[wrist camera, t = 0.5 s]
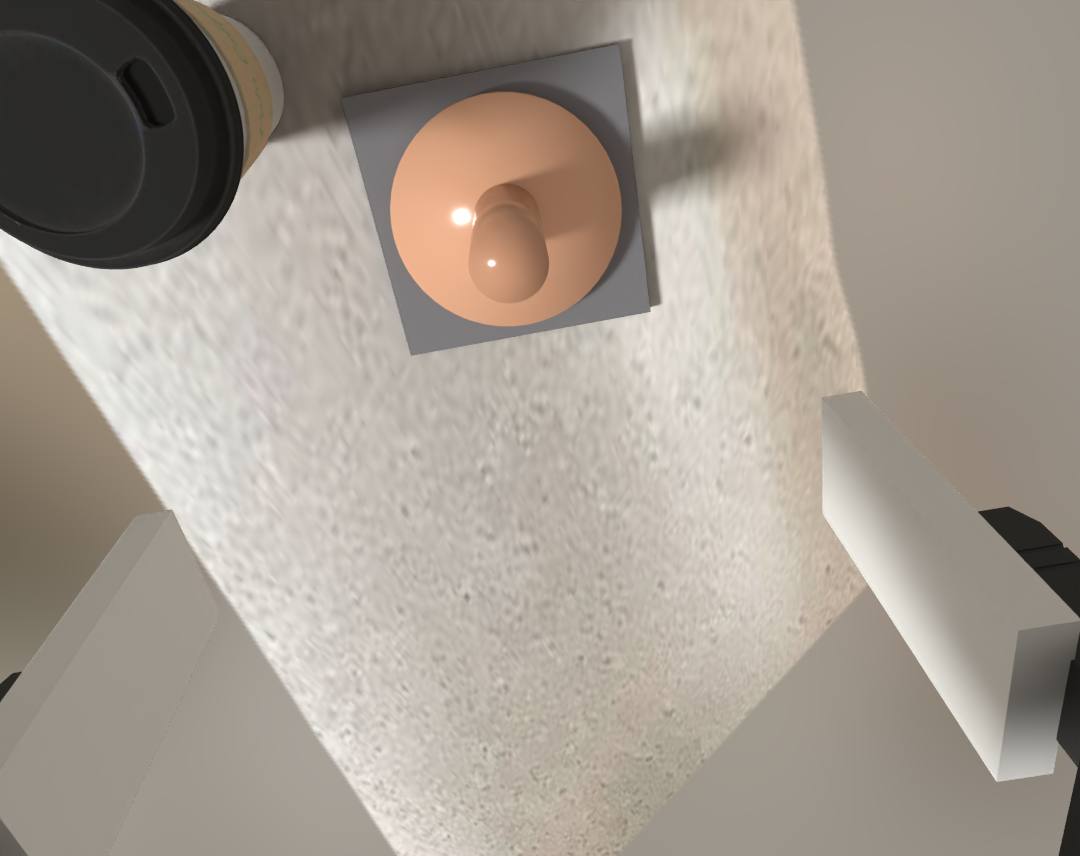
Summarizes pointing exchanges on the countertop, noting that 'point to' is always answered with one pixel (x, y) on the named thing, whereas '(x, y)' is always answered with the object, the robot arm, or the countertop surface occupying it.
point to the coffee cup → (127, 125)
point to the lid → (505, 208)
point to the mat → (566, 79)
